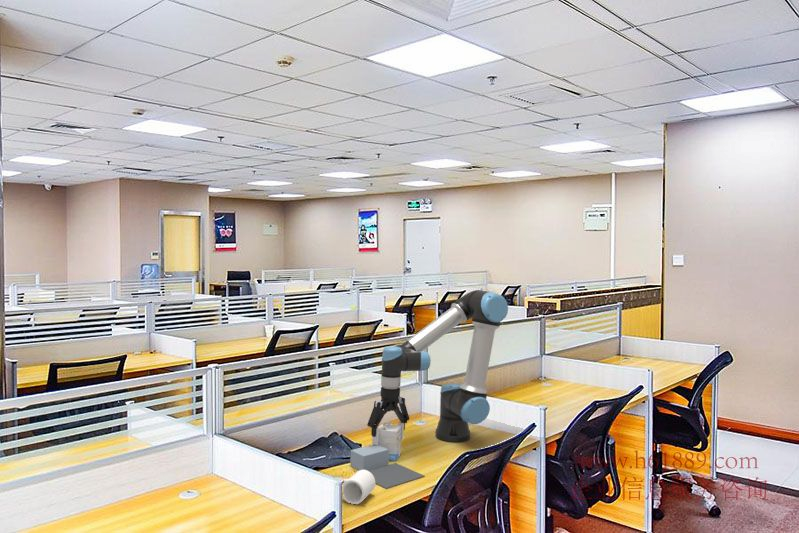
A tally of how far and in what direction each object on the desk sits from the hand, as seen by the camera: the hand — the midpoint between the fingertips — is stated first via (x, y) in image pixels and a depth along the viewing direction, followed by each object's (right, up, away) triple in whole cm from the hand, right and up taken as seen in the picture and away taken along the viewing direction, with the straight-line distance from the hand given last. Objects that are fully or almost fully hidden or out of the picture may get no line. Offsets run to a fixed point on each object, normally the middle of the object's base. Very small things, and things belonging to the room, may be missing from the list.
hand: (387, 441), depth 243 cm
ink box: (0, -6, 0) cm, 6 cm away
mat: (+1, -7, -19) cm, 20 cm away
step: (-7, -6, -10) cm, 13 cm away
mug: (-11, -8, -38) cm, 40 cm away
